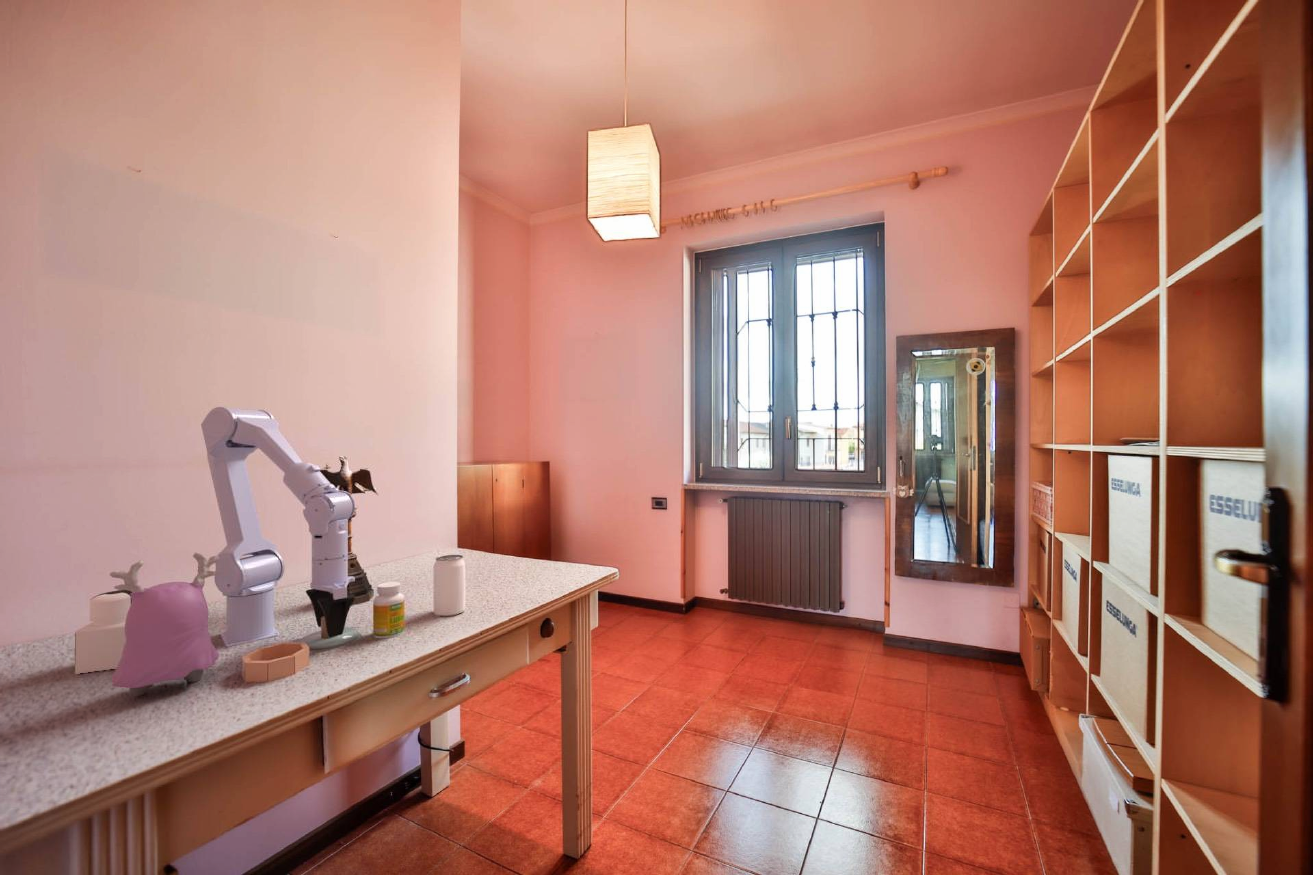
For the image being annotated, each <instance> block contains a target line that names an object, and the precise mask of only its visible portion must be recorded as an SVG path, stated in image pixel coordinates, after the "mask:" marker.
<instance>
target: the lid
mask: <svg viewBox="0 0 1313 875" xmlns="http://www.w3.org/2000/svg"><path fill="white" fill-rule="evenodd" d="M358 632H359V629H357V628H355V627H353V628H350V627H349V626H348V627H346V626H345V627H344V630H343V634H342V635H338V636H333V637H329V636H328V633H327V629H326V622H325V617H324V616H323V617H321V627H320V630H318V631H314V632H312V633H309V634H307V635H305V636H304V637H301V638H302V639H301V638H300V639H301V640H300V642H305V643H306V644H307V645H308V647H309V650H319V649H327V648H333V647H337V646H341V645H344V644H347V643H349V642H352V641H354V640H355V639H356V638H357V637H358Z"/></svg>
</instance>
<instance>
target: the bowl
mask: <svg viewBox="0 0 1313 875" xmlns="http://www.w3.org/2000/svg"><path fill="white" fill-rule="evenodd" d="M309 666H310V655H309V647H308V645H307V644H306V643H305V642H293V641H291V642H290V641H289V642H286V641H285V642H280V643H276V644H271V645H268V646H267V645H266V646H263V647H259V648H256V649H254V650H252V651H250V652H248V653H246V654H245V655H242V656H241V676H242V679H243V680H244V682H245V683H248V682H249V683H251V682H253V683H254V682H256V683H257V682H260V683H261V682H263V683H264V682H265V683H266V682H270V681H274V680H279V679H282V678H287V677H290V676H293V675H294V676H295V675H296V674H297V673H299V672H301V671H302V670H304V669H305V668H307V667H309Z"/></svg>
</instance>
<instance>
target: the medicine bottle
mask: <svg viewBox="0 0 1313 875" xmlns="http://www.w3.org/2000/svg"><path fill="white" fill-rule="evenodd" d="M131 593H132V592H131V591H129V590H118V589H117V590H114V591H113V590H112V591H107V592H102V593H100V594H97V595H95V596H93V597H92V598H91V599H90V600H89V621H90V622H91V623H88V624H86V625H85V626H82V627H80V628H79V629H77V630H76V631H75V633H74V674H75V675H81V674H80V673H84V674H89V673H88V672H92V671H99V672H104V671H103V670H106V671H111V670H110V669H114V670H116V669H117V666H118V664H119V662H120V660H121V656H122V652H123V648H124V645H125V642H126V637H125V622H126V617H127V613H128V610H129V608H130V606H131V603H132V599H131V595H130V594H131ZM92 673H93V672H92Z"/></svg>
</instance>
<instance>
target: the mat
mask: <svg viewBox="0 0 1313 875" xmlns="http://www.w3.org/2000/svg"><path fill="white" fill-rule="evenodd" d="M349 628H354V627H353V626H350V627H349ZM302 638H303V637H301V638H297V639H294V640H291V642H300V640H301V639H302ZM365 641H368V639H367V638H366V637H365V636H364V635H363V634H362V633H360V632H359V631H358V637H357V638H356V639H355V640H354V641H352V642H349V643H347V644H344V645H341V646H337V647H333V648H327V649H319V650H309V656H311V655H312V654H313V655H314V654H317V653H320V652H325V651H326V652H327V651H329V650H333V649H336V648H341V647H346V646H350V645H354V644H358V643H362V642H365Z"/></svg>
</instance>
